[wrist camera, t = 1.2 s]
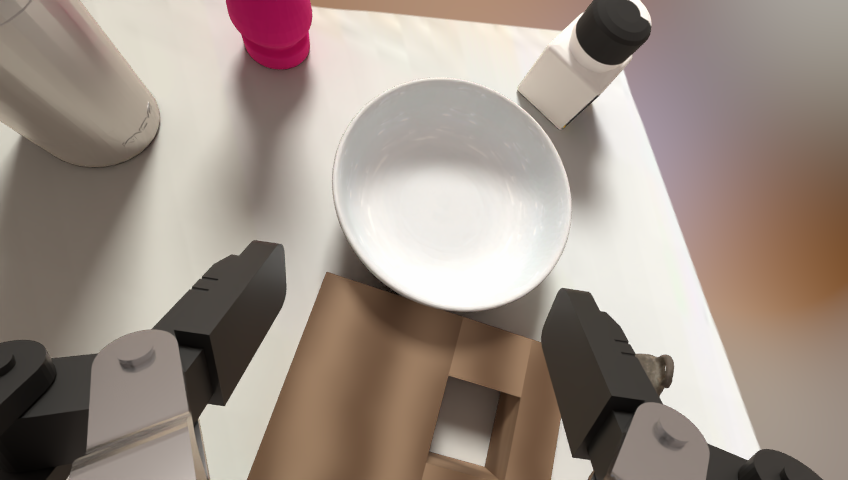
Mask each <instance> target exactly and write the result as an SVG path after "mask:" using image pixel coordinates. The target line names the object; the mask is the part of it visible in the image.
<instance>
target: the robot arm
mask: <svg viewBox="0 0 848 480" xmlns="http://www.w3.org/2000/svg"><path fill="white" fill-rule="evenodd" d="M0 121H1V122H2V123H4V124H5V125H7V126H8V127H10V128H12V129H13V130H14V131H16V132H17V133H19V134H21V135H22V136H24V137H25V138H27V139H28V140H30V141H32V142H33V143H35V144H36V145H38V146H40V147H41V148H43V149H44V150H46V151H48V152H49V153H51V154H52V155H54V156H56V157H57V158H59V159H61V160H62V161H65V162H68V163H71V164H74V165H78V166H84V167H105V166H110V165H116V164H118V163H121V162H124V161H127V160H129V159H131V158H132V157H134V156H136V155H138V154H139V153H140V152H142V151H143V150H144V149H145V148H146V147H147V146H148V145H149V144H150V142H151V141H152V140H153V139H154V137H155V135H156V132H157V130H158V127H159V121H160V114H159V108H158V105H157V102H156V100H155V98H154V97H153V96H152V94H151V93H150V91H149V90H148V89H147V87H146V86H145V85H144V84H143V82H142V81H141V80H140V78H139V77H138V76H137V74H136V73H135V72H134V71H133V69H132V68H131V66H130V65H129V64H128V62H127V61H126V60H125V58H124V57H123V56H122V55H121V53H120V52H119V51H118V49H117V48H116V47H115V45H114V44H113V43H112V42H111V40H110V39H109V38H108V36H107V35H106V34H105V32H104V31H103V30H102V29H101V27H100V26H99V25H98V23H97V22H96V21H95V19H94V18H93V17H92V16H91V14H90V13H89V12H88V10H87V9H86V8H85V7H84V5H83V4H82V3H81V1H80V0H0ZM285 296H286V272H285V255H284V248H283V245H282V244H276V243H270V242H263V241H257V240H254V241H252V242H251V243H250V244H249V245H248V246H247V247H246V249H245V250H244V251H243V252H242V253H241V254H240V255H239V256H237V255H230V256H228V257H226V258H224V259H223V260H221V261H219V262H217V263H215V264H214V265H213V266H212V267H211V268H210V269H209V270H208V271H207V272H206V273H205V274H204V275H203V276H202V279H199V280H198V281H197V282H196V283H195V284H194V285H193V287H192V290H189V291H188V292H187V293H186V294H185V295H184V296H183V297H182V298H181V299H180V300H179V301H178V302H177V303H176V304H175V305H174V306H173V307H172V308H171V309H170V311H169V312H168V313H167V314H166V315H165V316H164V317H163V318H162V319H161V320H160V321H159V322H158V323H157V324H156V325H155V326H154V327H153V328H152V329H151V330H142V331H137V332H134V333H130V334H127V335H125V336H122V337H120V338H118V339H116V340H115V341H113V342H111V343H110V344H108V345H107V346H106V347H105V348H103V349H102V350H101V351H100V352H99V353H98V354H90V355H80V356H71V357H61V358H50V356H49V354H48V353H47V351H46V349H45V347H44V346H43V345H42V344H40V343H38V342H35V341H30V340H15V341H8V342H3V343H0V480H66V479H67V477H68V476H69V475H70V479H69V480H210V476H209V470H208V465H207V459H206V454H205V448H204V443H203V437H202V431H201V426H200V421H199V416H200V415H201V413H202V412H203V410H204V408H205V407H206V405H207V404H213V405H220V406H225V405H226V403H227V401H228V399H229V398H230V396H231V394H232V393H233V391H234V389H235V387H236V386H237V384H238V382H239V380H240V379H241V377H242V375H243V374H244V372H245V370H246V368H247V367H248V365H249V363H250V362H251V360H252V358H253V356H254V355H255V353H256V351H257V349H258V348H259V346H260V344H261V343H262V341H263V339H264V337H265V336H266V334H267V332H268V330H269V329H270V327H271V325H272V324H273V322H274V320H275V318H276V317H277V315H278V313H279V312H280V310H281V308H282V306H283V303H284V300H285ZM628 342H629V341H628V340H627V338H626V336H625V334H624V332H623V330H622V329H621V327H620V326H619V325H618V324H617V323H616V322H615V321H614V320H613V319H612V318H611V317H610V316H609V315H608V314H607V313H606V312H601V311H600V310H599V308H598V306H597V304H596V302H595V300H594V298H593V296H592V295H591V293H589V292H586V291H579V290H573V289H566V288H561V289H560V290H559V291H558V293H557V295H556V298H555V300H554V302H553V305H552V307H551V309H550V312H549V314H548V317H547V319H546V321H545V324H544V326H543V330H542V336H541V344H542V350H543V353H544V357H545V360H546V364H547V368H548V371H549V375H550V378H551V382H552V386H553V389H554V393H555V396H556V400H557V404H558V407H559V411H560V414H561V418H562V421H563V425H564V429H565V432H566V436H567V439H568V443H569V447H570V450H571V454H572V457H573V458H580V459H587V460H591V463H592V467H593V472H592V473H591V475H590V476H589V478H588V480H823V479H822V478H820V477H819V476H818V475H817V474H816V473H815V472H813V471H812V470H811V469H810V468H808V467H807V466H806V465H804V464H803V463H801V462H800V461H798V460H796V459H794V458H793V457H791V456H788V455H787V454H784V453H782V452H779V451H775V450H770V449H763V450H760V451H758V452H757V453H756V454H755V455H754V456H752V457H751V458H750V459H749V460H746V459H743V458H741V457H738V456H736V455H734V454H731V453H729V452H726V451H724V450H722V449H719V448H717V447H715V446H712V445H710V444H708V443H707V442H706V440H705V438H704V436H703V435H702V434H701V432H700V431H699V430H698V428H697V427H696V426H695V425H694V424H693V423H692V422H691V421H690V420H689V419H687V418H686V417H685V416H684V415H682V414H681V413H679V412H678V411H676V410H674V409H672V408H670V407H668V406H666V405H663V403H662V401H661V400H660V398H659V396H658V394H657V392H656V390H655V389H654V387H653V385H652V383H651V381H650V380H649V378H648V376H647V374H646V372H645V370H644V369H643V367H642V365H641V363H640V361H639V360H638V358H637V357H635V352H634V350H633V349H632V347H631V345H630V344H628Z"/></svg>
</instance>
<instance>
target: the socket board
mask: <svg viewBox="0 0 848 480" xmlns="http://www.w3.org/2000/svg"><path fill="white" fill-rule="evenodd" d="M448 376H452V377H455V378H458V379H462V380H465V381H468V382H471V383H475V384H478V385H481V386H484V387H488V388H491V389H494V390H498V391H501V392H500V397H499V402H498V406H497V411H496V416H495V421H494V425H493V430H492V435H491V439H490V444H489V449H488V453H487V458H486V463H485V467H483V466H479V465H476V464H472V463H469V462H465V461H461V460H458V459H454V458H450V457H447V456H443V455H439V454H436V453H432V452H429V450H430V446H431V442H432V438H433V434H434V430H435V426H436V422H437V418H438V414H439V411H440V407H441V403H442V399H443V395H444V391H445V387H446V383H447V379H448ZM560 420H561V414H560V411H559V407H558V404H557V400H556V396H555V393H554V389H553V386H552V382H551V378H550V375H549V371H548V368H547V364H546V360H545V357H544V353H543V350H542V344H541V342H538V341H535V340H532V339H529V338H526V337H523V336H520V335H517V334H514V333H511V332H508V331H505V330H502V329H499V328H496V327H493V326H490V325H487V324H484V323H481V322H478V321H475V320H472V319H469V318H466V317H462V316H459V315H456V314H453V313H450V312H447V311H444V310H441V309H437V308H433V307H429V306H426V305H423V304H420V303H417V302H415V301H413V300H410V299H408V298H405V297H402V296H399V295H396V294H393V293H390V292H387V291H384V290H381V289H378V288H375V287H371V286H368V285H365V284H362V283H359V282H356V281H353V280H350V279H347V278H344V277H341V276H338V275H335V274H332V273H329V272H326V275H325V277H324V280H323V282H322V285H321V288H320V290H319V293H318V295H317V298H316V301H315V303H314V306H313V308H312V311H311V314H310V316H309V319H308V322H307V324H306V327H305V329H304V332H303V335H302V337H301V340H300V342H299V345H298V348H297V350H296V353H295V356H294V358H293V361H292V363H291V366H290V369H289V371H288V374H287V376H286V379H285V382H284V384H283V387H282V390H281V392H280V395H279V397H278V400H277V403H276V405H275V408H274V410H273V413H272V416H271V418H270V421H269V424H268V426H267V429H266V431H265V434H264V437H263V439H262V442H261V444H260V447H259V450H258V452H257V455H256V458H255V460H254V463H253V465H252V468H251V471H250V473H249V476H248V478H247V480H551V475H552V469H553V463H554V457H555V451H556V444H557V438H558V432H559V426H560Z"/></svg>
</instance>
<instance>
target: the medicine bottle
mask: <svg viewBox="0 0 848 480" xmlns="http://www.w3.org/2000/svg"><path fill="white" fill-rule="evenodd" d="M650 32H651V18H650V15H649V13H648V11H647V9H646V8H645V6H644V5H643V4H642V2H641V1H640V0H593V1H592V3H591V4H590V5H589V7H588V8H587V9H586V11H585V12H583V13H581V14H580V15H579V16H578V17H577V18H576V19H575V20H574V21H573V22H572V23H571V24H570V25H569V26H568V27H566V28H565V29H564V30H563V31H562V32H561V33H560V34H559V35H558V36H557V37H556V38H555V39H554V40H553V41H552V42H551V43H549V44H548V45H547V47H546V48H545V50H544V51H543V52H542V54H541V55H540V56H539V58H538V59H537V61H536V62H535V63H534V65H533V66H532V68H531V69H530V70H529V72H528V73H527V74H526V76H525V77H524V79H523V80H522V81H521V83H520V84H519V86H518V87H517V90H518V91H519V92H520V93H521V94H522V95H523V96H524V97H525V98H526V99H527V100H529V101H530V102H531V103H532V104H533V105H534V106H535V107H536V108H537V109H538V110H539V111H540V112H541V113H542V114H543V115H544V116H545V117H547V118H548V119H549V120H550V121H551V122H552V123H553V124H554V125H555V126H556V127H557V128H558V129H560V130H562V129H563V128H565V127H566V126H567V125H568V124H569V123H570V122H571V121H572V120H573V119H574V118H575V117H577V116H578V115H579V114H580V113H581V112H582V111H583V110H584V109H585V108H586V107H587V106H589V105H590V104H591V103H592V102H593V101H594V100H595V99H596V98H597V97H598V96H599V95H600V94H601V93H602V92H603V91H604V90H605V89H606V88H607V87H608V86H609V84H610V83H611V82H612V81H613V80H614V79H615V78H616V77H617V76H618V74H619V73H620V72H621V71H622V70H623V69H624V68H625V67H626V66H627V64H628V63H629V62H630V61H631V60H632V54H633V53H634V52H635V51H636V50H637V49H638V48H639V47H640V46H641V45H642V44H643V43H645V42H646V40H647V39H648V37H649V36H650Z"/></svg>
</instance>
